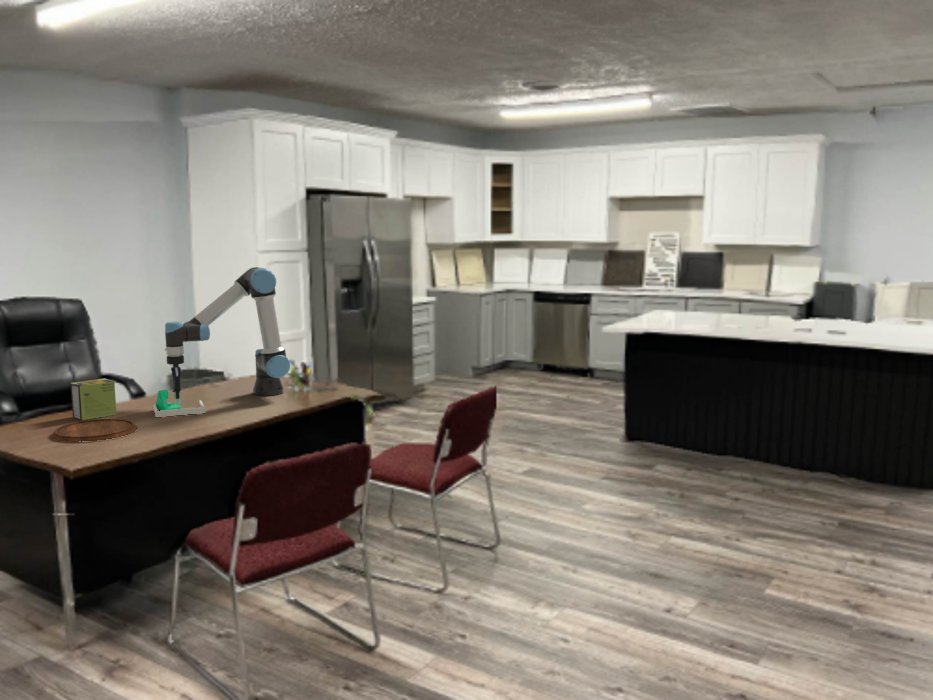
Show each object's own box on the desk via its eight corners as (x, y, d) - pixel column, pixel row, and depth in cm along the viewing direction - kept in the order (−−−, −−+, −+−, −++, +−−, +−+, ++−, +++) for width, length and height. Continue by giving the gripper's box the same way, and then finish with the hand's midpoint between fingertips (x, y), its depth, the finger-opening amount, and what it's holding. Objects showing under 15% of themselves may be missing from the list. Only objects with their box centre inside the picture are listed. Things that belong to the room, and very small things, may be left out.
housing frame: (201, 406, 367) (201, 400, 366) (205, 413, 352) (204, 407, 351) (153, 410, 358) (153, 403, 358) (155, 418, 343) (154, 411, 343)
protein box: (117, 414, 349) (115, 381, 347) (81, 420, 338) (79, 385, 335) (107, 411, 356) (104, 378, 354) (72, 417, 345) (69, 382, 342)
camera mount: (182, 412, 355) (181, 390, 353) (165, 415, 350) (164, 392, 348) (172, 408, 364) (171, 386, 362) (155, 410, 359) (154, 388, 357)
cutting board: (134, 420, 340) (134, 415, 339) (141, 438, 312) (140, 431, 311) (52, 428, 325) (51, 423, 325) (50, 447, 297) (50, 441, 297)
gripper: (165, 353, 364) (168, 403, 367) (167, 357, 352) (170, 408, 356) (182, 352, 367) (185, 401, 370) (184, 356, 355) (187, 407, 359)
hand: (177, 405), depth 363 cm, fingers closed
